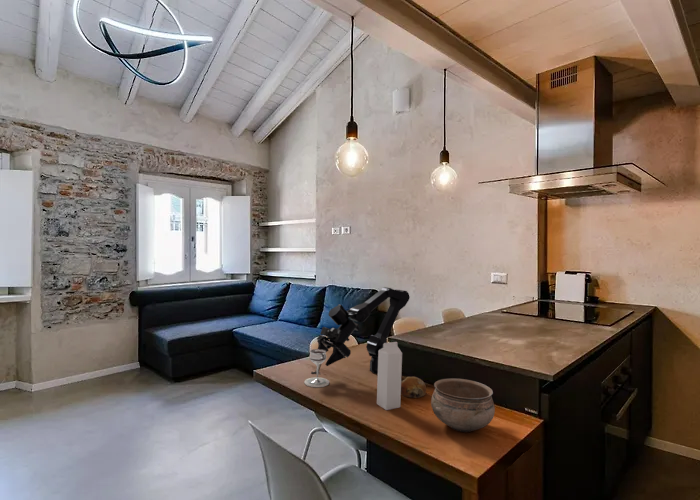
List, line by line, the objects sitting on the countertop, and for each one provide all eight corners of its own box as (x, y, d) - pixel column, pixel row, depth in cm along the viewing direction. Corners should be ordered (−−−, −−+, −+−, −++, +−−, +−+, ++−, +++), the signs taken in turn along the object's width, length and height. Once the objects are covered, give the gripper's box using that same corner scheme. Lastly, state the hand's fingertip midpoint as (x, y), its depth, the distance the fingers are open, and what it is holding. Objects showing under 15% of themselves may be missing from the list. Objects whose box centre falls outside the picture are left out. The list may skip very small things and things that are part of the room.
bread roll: (427, 402, 148) (429, 381, 151) (421, 399, 140) (424, 376, 143) (401, 397, 152) (405, 376, 155) (395, 394, 144) (398, 372, 147)
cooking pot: (458, 407, 135) (459, 372, 135) (510, 427, 121) (511, 388, 121) (411, 426, 119) (412, 387, 119) (465, 452, 104) (467, 407, 104)
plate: (326, 378, 161) (326, 376, 161) (331, 386, 152) (331, 384, 152) (302, 379, 158) (302, 377, 158) (306, 388, 149) (306, 386, 149)
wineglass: (328, 379, 157) (329, 350, 157) (321, 385, 151) (322, 354, 151) (313, 377, 160) (314, 348, 160) (305, 382, 153) (306, 352, 153)
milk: (400, 407, 133) (403, 343, 133) (385, 410, 130) (388, 345, 130) (390, 401, 139) (392, 339, 139) (376, 403, 136) (378, 341, 136)
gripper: (321, 316, 166) (297, 344, 160) (345, 323, 151) (319, 355, 145) (336, 332, 171) (313, 361, 165) (361, 341, 155) (337, 373, 149)
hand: (320, 362), depth 156 cm, fingers open, 9 cm apart
